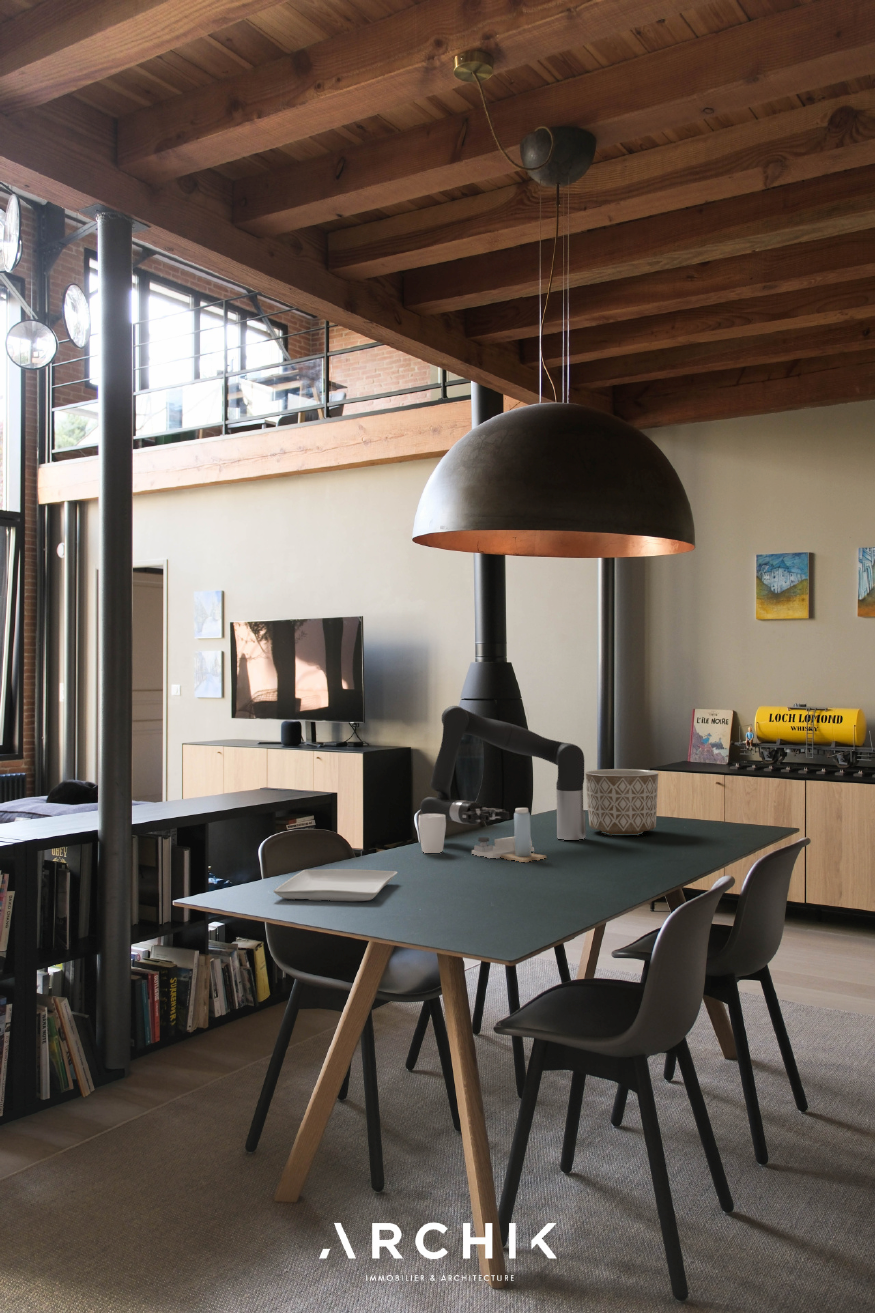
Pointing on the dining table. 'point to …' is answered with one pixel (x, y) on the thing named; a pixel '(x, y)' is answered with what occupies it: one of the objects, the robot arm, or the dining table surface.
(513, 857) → the coaster
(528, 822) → the bottle
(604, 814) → the planter
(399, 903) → the dining table surface
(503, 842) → the housing
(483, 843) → the plunger
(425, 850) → the cup
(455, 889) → the dining table surface
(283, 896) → the square plate
